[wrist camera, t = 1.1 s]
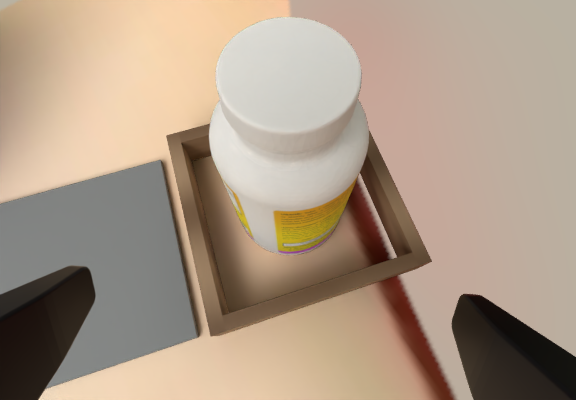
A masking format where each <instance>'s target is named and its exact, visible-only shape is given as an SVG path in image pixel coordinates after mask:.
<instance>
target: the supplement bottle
mask: <svg viewBox="0 0 576 400" xmlns="http://www.w3.org/2000/svg"><path fill="white" fill-rule="evenodd" d="M361 79H362V72H361V65H360V61H359V58H358V56H357V54H356V52H355V50H354V48H353V47H352V46H351V44H350V43H349V42H348V41H347V40H346V39H345V38H344V37H343V36H342V35H340V34H339V33H338V32H337V31H335V30H334V29H332V28H331V27H329V26H327V25H325V24H322V23H320V22H317V21H314V20H310V19H306V18H297V17H278V18H272V19H267V20H264V21H261V22H257V23H255V24H253V25H251V26H249V27H247V28H245V29H244V30H242V31H240V32H239V33H238V34H237V35H235V36H234V37H233V38H232V39H231V40H230V41H229V42H228V43H227V45H226V46H225V48H224V49H223V51H222V53H221V55H220V57H219V59H218V63H217V66H216V86H217V90H218V94H219V98H220V100H219V102H218V103H217V105H216V107H215V109H214V112H213V115H212V118H211V122H210V129H209V143H210V150H211V154H212V157H213V160H214V163H215V165H216V168H217V170H218V172H219V174H220V176H221V178H222V181H223V183H224V185H225V187H226V189H227V192H228V194H229V196H230V198H231V201H232V203H233V205H234V208H235V210H236V212H237V214H238V216H239V219H240V221H241V223H242V225H243V227H244V229H245V230H246V232H247V234H248V235H249V236H250V237H251V239H252V240H253V241H254V242H256V243H257V244H258V245H259V246H261V247H262V248H264V249H266V250H268V251H270V252H273V253H277V254H282V255H298V254H303V253H306V252H309V251H311V250H313V249H315V248H317V247H319V246H320V245H321V244H323V243H324V242H325V241H326V240H327V239H328V238H329V237H330V236H331V234H332V233H333V231H334V230H335V228H336V226H337V224H338V222H339V220H340V217H341V215H342V213H343V211H344V208H345V206H346V203H347V201H348V199H349V196H350V194H351V192H352V189H353V187H354V185H355V182H356V180H357V177H358V175H359V173H360V171H361V168H362V166H363V163H364V160H365V157H366V154H367V150H368V145H369V128H368V122H367V118H366V115H365V112H364V110H363V107H362V105H361V103H360V102H359V100H358V96H359V92H360V88H361Z"/></svg>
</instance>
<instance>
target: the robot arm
mask: <svg viewBox="0 0 576 400" xmlns="http://www.w3.org/2000/svg"><path fill="white" fill-rule="evenodd" d="M95 297H96V293H95V288H94V284H93V279H92V275H91V271H90V269H89V268H88V267H86V266H75V265H71V266H67V267H65V268H62V269H60V270H57V271H55V272H53V273H50V274H48V275H46V276H43V277H41V278H38V279H36V280H34V281H31V282H29V283H26V284H24V285H22V286H19V287H17V288H14V289H12V290H10V291H7V292H5V293H2V294H0V400H38V399H39V398H40V396H41V395H42V393H43V392H44V390H45V389H46V387H47V385H48V384H49V382H50V381H51V379H52V378H53V376H54V375H55V373H56V372H57V370H58V369H59V367H60V365H61V364H62V362H63V360H64V359H65V357H66V355H67V353H68V352H69V350H70V348H71V346H72V344H73V342H74V340H75V338H76V336H77V334H78V333H79V331H80V329H81V327H82V325H83V323H84V321H85V319H86V317H87V316H88V314H89V312H90V310H91V308H92V306H93V304H94V301H95ZM452 330H453V334H454V338H455V341H456V344H457V348H458V351H459V354H460V358H461V361H462V365H463V368H464V371H465V375H466V378H467V381H468V384H469V388H470V391H471V394H472V397H473V399H474V400H576V357H575V356H573V355H572V354H570V353H569V352H567V351H566V350H564V349H562V348H561V347H560V346H558V345H556V344H555V343H553V342H552V341H550V340H549V339H547V338H546V337H544V336H543V335H541V334H540V333H538V332H537V331H535V330H533V329H532V328H530V327H529V326H527V325H526V324H524V323H523V322H521V321H520V320H518V319H517V318H515V317H514V316H512V315H510V314H509V313H507V312H506V311H504V310H503V309H501V308H500V307H498V306H496V305H495V304H494V303H492V302H490V301H489V300H487V299H486V298H484V297H483V296H480V295H473V294H463V295H461V296H460V298H459V300H458V303H457V307H456V310H455V313H454V316H453V319H452Z"/></svg>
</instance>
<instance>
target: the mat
mask: <svg viewBox="0 0 576 400" xmlns="http://www.w3.org/2000/svg"><path fill="white" fill-rule="evenodd" d="M71 265H75V266H86V267H88V268H89V269H90V271H91V275H92V279H93V284H94V288H95V293H96V297H95V301H94V304H93V306H92V308H91V310H90V312H89V314H88V316H87V317H86V319H85V321H84V323H83V325H82V327H81V329H80V331H79V333H78V334H77V336H76V338H75V340H74V342H73V344H72V346H71V348H70V350H69V352H68V353H67V355H66V357H65V359H64V360H63V362H62V364H61V365H60V367H59V369H58V370H57V372H56V373H55V375H54V376H53V378H52V379H51V381H50V382H49V384H48V385H47V387H46V388H49V387H52V386H55V385H58V384H61V383H64V382H67V381H70V380H73V379H76V378H79V377H82V376H85V375H88V374H91V373H94V372H97V371H100V370H103V369H106V368H109V367H112V366H115V365H118V364H121V363H123V362H126V361H129V360H132V359H135V358H138V357H141V356H144V355H147V354H150V353H153V352H156V351H159V350H162V349H165V348H168V347H171V346H174V345H177V344H180V343H183V342H186V341H189V340H192V339H195V338H198V337H199V336H198V331H197V326H196V322H195V317H194V312H193V307H192V302H191V298H190V293H189V288H188V283H187V279H186V274H185V269H184V264H183V259H182V255H181V250H180V245H179V240H178V236H177V231H176V226H175V221H174V216H173V212H172V207H171V202H170V197H169V193H168V188H167V183H166V178H165V173H164V169H163V164H162V162H161V160H158V161H155V162H151V163H147V164H144V165H140V166H137V167H133V168H129V169H126V170H122V171H118V172H115V173H111V174H107V175H104V176H100V177H97V178H93V179H89V180H86V181H82V182H78V183H75V184H71V185H67V186H64V187H60V188H57V189H53V190H49V191H46V192H42V193H38V194H35V195H31V196H28V197H24V198H20V199H17V200H13V201H9V202H6V203H2V204H0V294H2V293H5V292H7V291H10V290H12V289H14V288H17V287H19V286H22V285H24V284H26V283H29V282H31V281H34V280H36V279H38V278H41V277H43V276H46V275H48V274H50V273H53V272H55V271H57V270H60V269H62V268H65V267H67V266H71Z"/></svg>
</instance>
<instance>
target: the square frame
mask: <svg viewBox="0 0 576 400" xmlns="http://www.w3.org/2000/svg"><path fill="white" fill-rule="evenodd" d="M209 129H210V124H208V125H204V126H200V127H197V128H193V129H189V130H185V131H182V132H178V133H174V134H170V135H167V141H168V145H169V150H170V155H171V159H172V164H173V168H174V173H175V177H176V182H177V186H178V191H179V195H180V200H181V204H182V209H183V213H184V218H185V222H186V227H187V231H188V236H189V240H190V245H191V249H192V254H193V258H194V263H195V267H196V272H197V276H198V281H199V286H200V290H201V295H202V299H203V304H204V308H205V313H206V317H207V322H208V326H209V331H210V335H211V336H220V335H223V334H226V333H229V332H232V331H235V330H238V329H241V328H244V327H247V326H250V325H253V324H256V323H259V322H261V321H264V320H267V319H270V318H273V317H276V316H279V315H282V314H285V313H288V312H291V311H294V310H297V309H300V308H303V307H306V306H309V305H312V304H315V303H317V302H320V301H323V300H326V299H329V298H332V297H335V296H338V295H341V294H344V293H347V292H350V291H353V290H356V289H359V288H362V287H365V286H368V285H370V284H373V283H376V282H379V281H382V280H385V279H388V278H391V277H394V276H397V275H400V274H403V273H406V272H409V271H412V270H415V269H417V268H419V267H421V266H423V265H425V264H427V263H429V262H432V261H431V259H430V256H429V255H428V252H427V250H426V248H425V246H424V244H423V242H422V240H421V238H420V235H419V233H418V231H417V229H416V227H415V225H414V223H413V221H412V219H411V217H410V215H409V213H408V210H407V208H406V206H405V204H404V202H403V200H402V198H401V196H400V194H399V192H398V190H397V187H396V185H395V183H394V181H393V179H392V177H391V175H390V173H389V171H388V169H387V166H386V164H385V162H384V160H383V158H382V156H381V154H380V152H379V150H378V148H377V145H376V144H375V141H374V139H373V137H372V135H371V133H370V131H369V145H368V150H367V154H366V157H365V160H364V163H363V166H362V168H361V171H360V174H361V176H362V179H363V181H364V183H365V185H366V188H367V190H368V192H369V194H370V197H371V199H372V201H373V203H374V206H375V208H376V210H377V212H378V215H379V217H380V219H381V221H382V224H383V226H384V228H385V230H386V232H387V235H388V237H389V240H390V242H391V244H392V246H393V249H394V251H395V253H396V255H397V258H394V259H391V260H388V261H385V262H382V263H379V264H376V265H373V266H370V267H367V268H364V269H361V270H358V271H355V272H352V273H349V274H346V275H343V276H340V277H337V278H334V279H331V280H328V281H325V282H322V283H319V284H316V285H313V286H310V287H307V288H304V289H301V290H298V291H295V292H292V293H289V294H286V295H283V296H280V297H277V298H274V299H271V300H268V301H265V302H262V303H259V304H256V305H253V306H250V307H247V308H244V309H241V310H238V311H235V312H232V313H229V312H228V308H227V304H226V300H225V295H224V291H223V287H222V283H221V279H220V275H219V271H218V267H217V263H216V259H215V255H214V251H213V246H212V242H211V238H210V234H209V230H208V226H207V222H206V218H205V214H204V210H203V206H202V202H201V198H200V193H199V189H198V185H197V181H196V177H195V173H194V169H193V165H192V161H193V160H197V159H200V158H204V157H207V156H211V155H212V154H211V150H210V143H209Z"/></svg>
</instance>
